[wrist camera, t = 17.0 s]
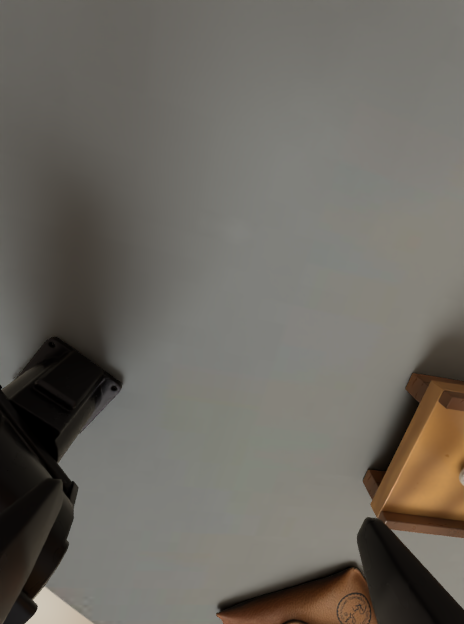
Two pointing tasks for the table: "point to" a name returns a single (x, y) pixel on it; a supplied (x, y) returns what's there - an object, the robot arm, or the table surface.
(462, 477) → the light bulb
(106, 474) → the table surface
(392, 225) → the table surface
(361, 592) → the sunglasses case
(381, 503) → the brown wooden tray
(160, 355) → the table surface
